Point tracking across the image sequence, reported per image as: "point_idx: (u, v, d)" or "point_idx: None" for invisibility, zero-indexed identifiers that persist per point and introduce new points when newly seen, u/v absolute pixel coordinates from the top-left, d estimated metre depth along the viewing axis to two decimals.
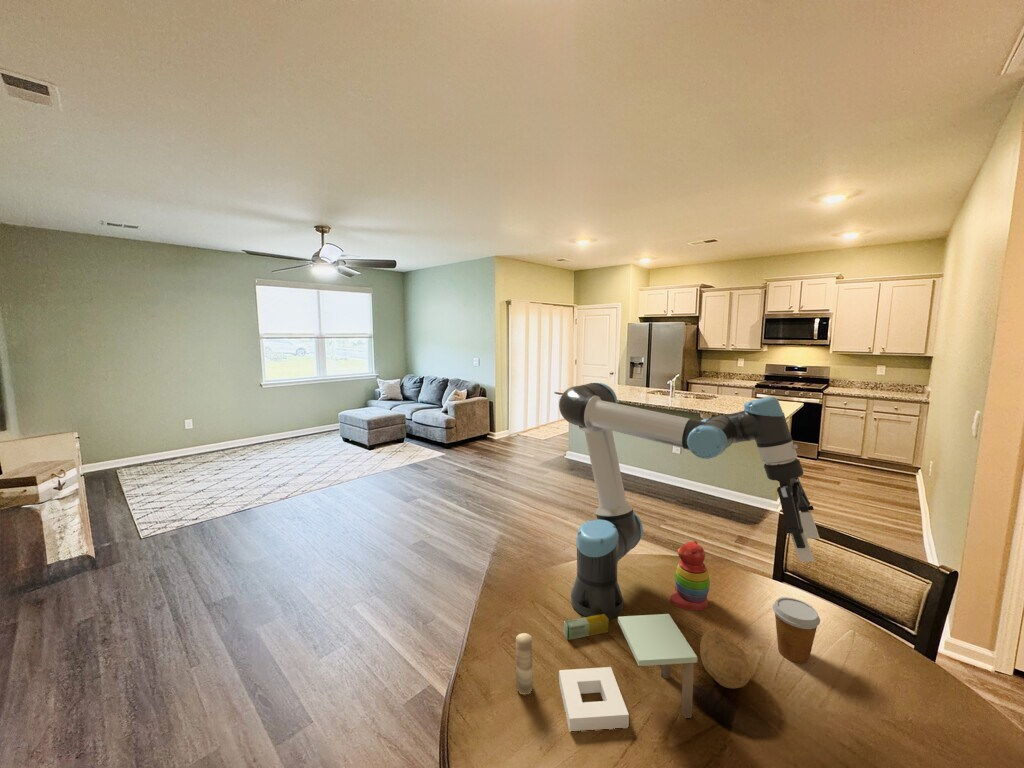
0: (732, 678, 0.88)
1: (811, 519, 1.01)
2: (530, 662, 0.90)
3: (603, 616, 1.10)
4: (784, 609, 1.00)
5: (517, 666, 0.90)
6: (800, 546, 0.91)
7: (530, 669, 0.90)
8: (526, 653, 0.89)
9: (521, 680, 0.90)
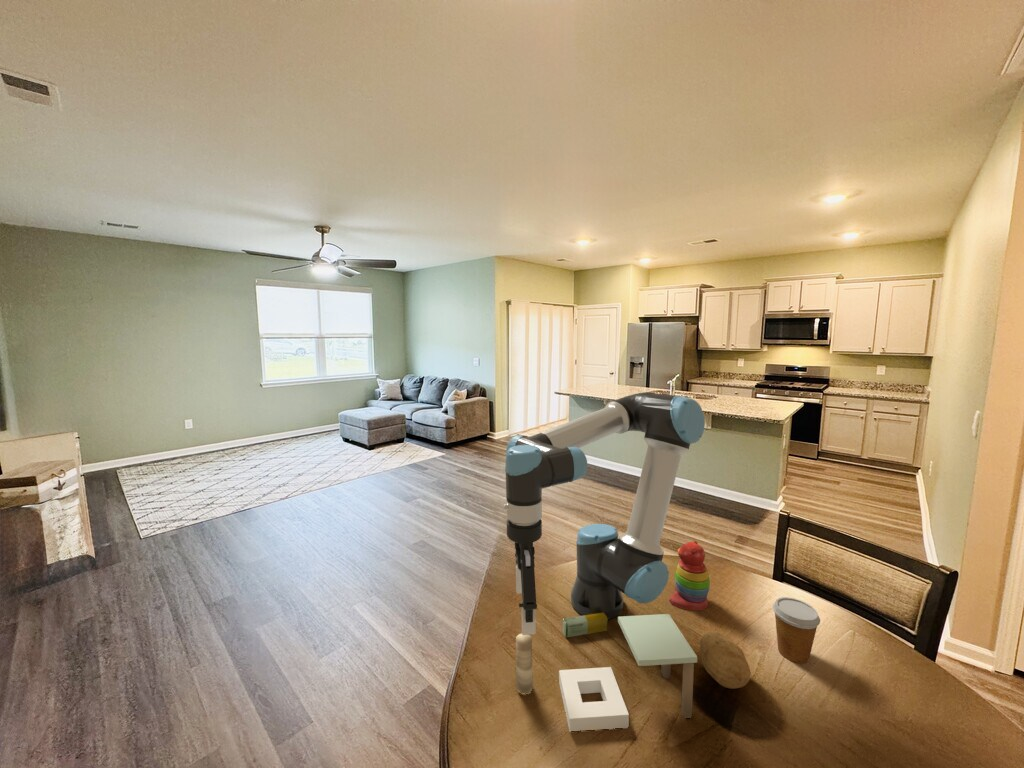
0: (732, 678, 0.88)
1: None
2: (530, 662, 0.90)
3: (602, 615, 1.11)
4: (784, 609, 1.00)
5: (517, 666, 0.90)
6: None
7: (530, 669, 0.90)
8: (526, 653, 0.89)
9: (521, 680, 0.90)
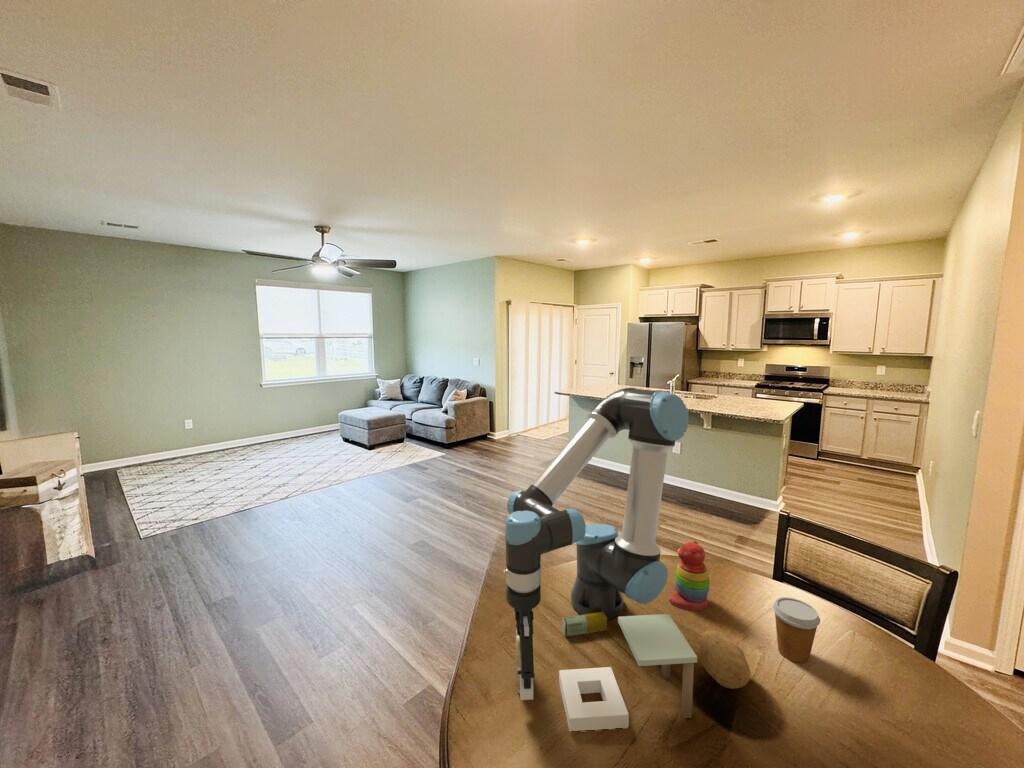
0: (732, 678, 0.88)
1: None
2: None
3: (602, 614, 1.11)
4: (784, 609, 1.00)
5: (517, 666, 0.90)
6: None
7: None
8: None
9: None
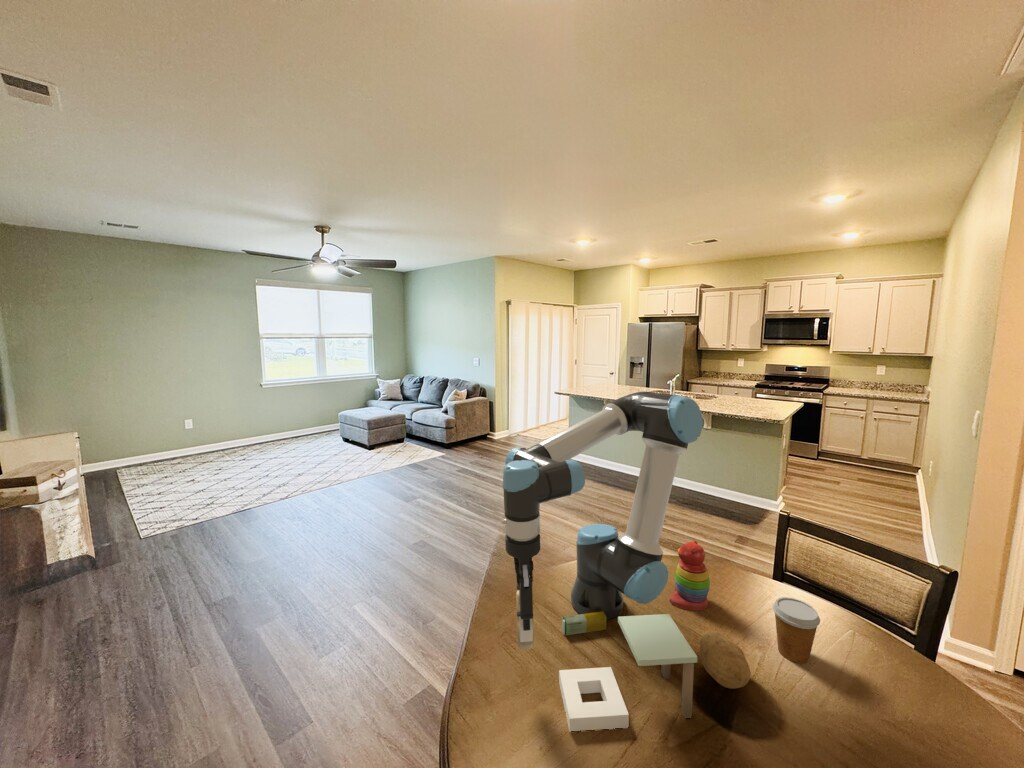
0: (732, 678, 0.88)
1: None
2: None
3: (601, 613, 1.11)
4: (784, 609, 1.00)
5: (518, 621, 0.90)
6: None
7: None
8: None
9: None
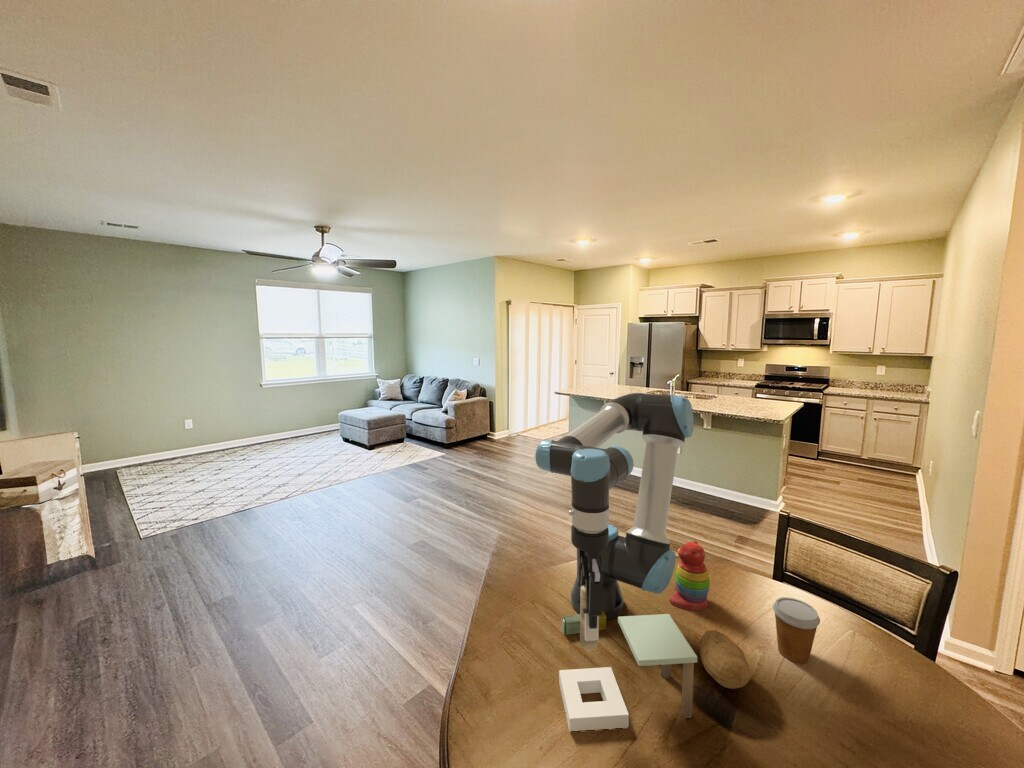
0: (732, 678, 0.88)
1: None
2: None
3: None
4: (784, 609, 1.00)
5: (582, 618, 0.85)
6: None
7: None
8: None
9: None
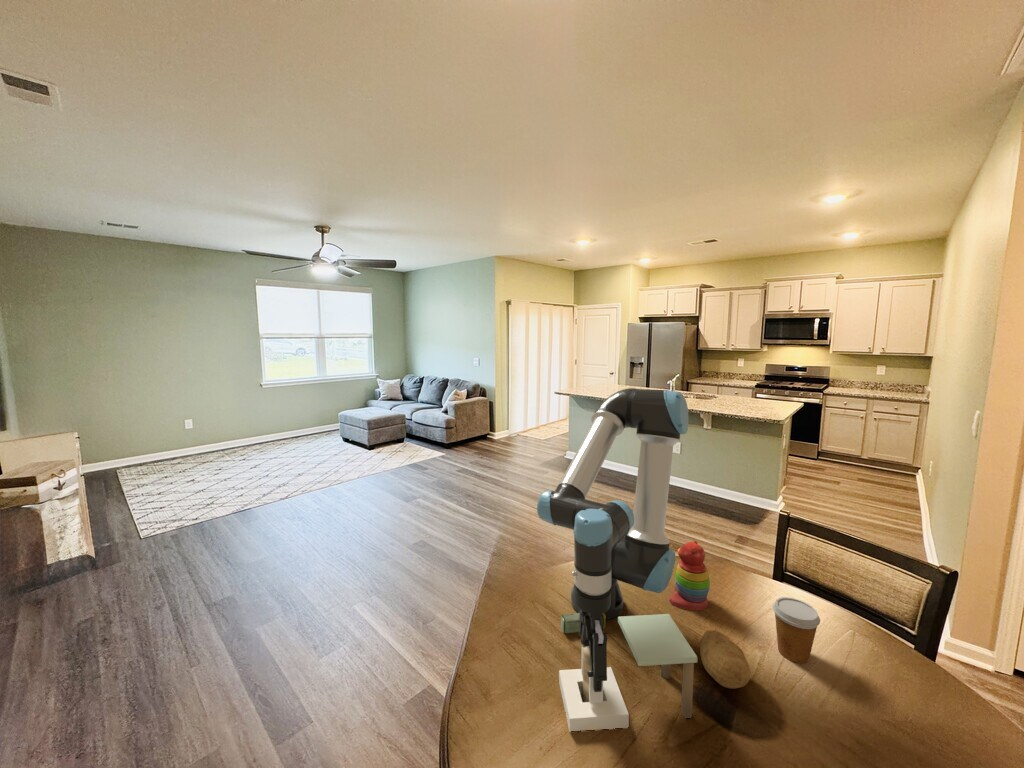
0: (732, 678, 0.88)
1: None
2: None
3: None
4: (784, 609, 1.00)
5: (585, 681, 0.86)
6: None
7: None
8: None
9: None
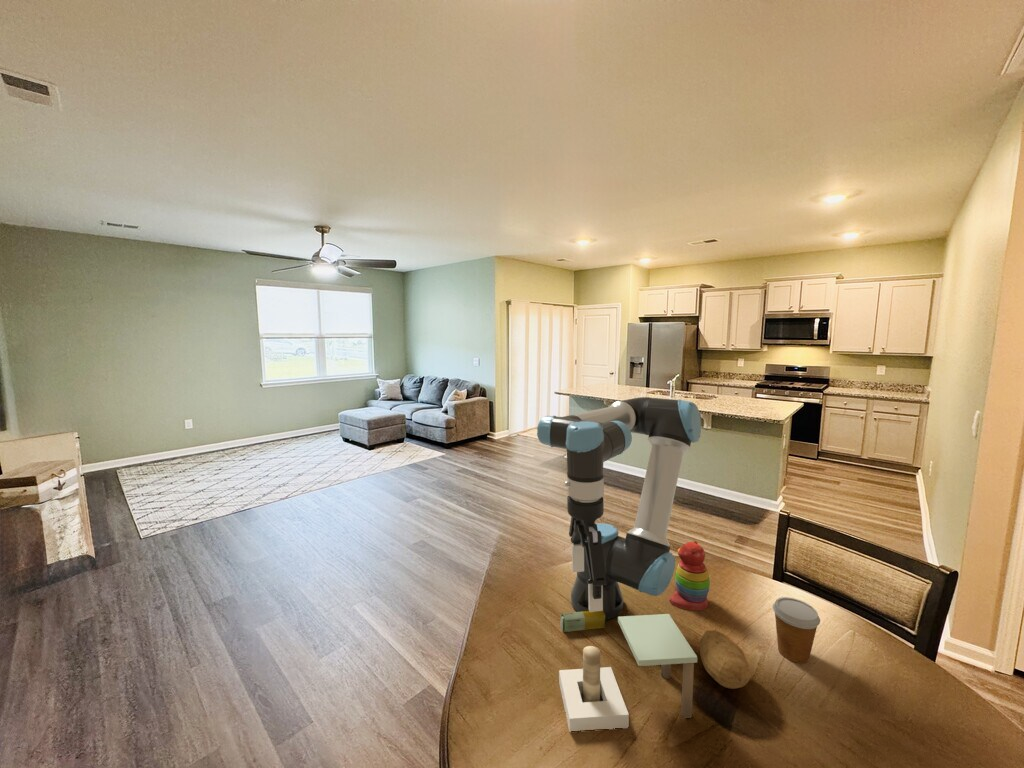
0: (732, 678, 0.88)
1: None
2: (598, 677, 0.86)
3: (600, 612, 1.12)
4: (784, 609, 1.00)
5: (585, 681, 0.86)
6: None
7: (598, 684, 0.86)
8: (595, 667, 0.85)
9: (589, 695, 0.86)
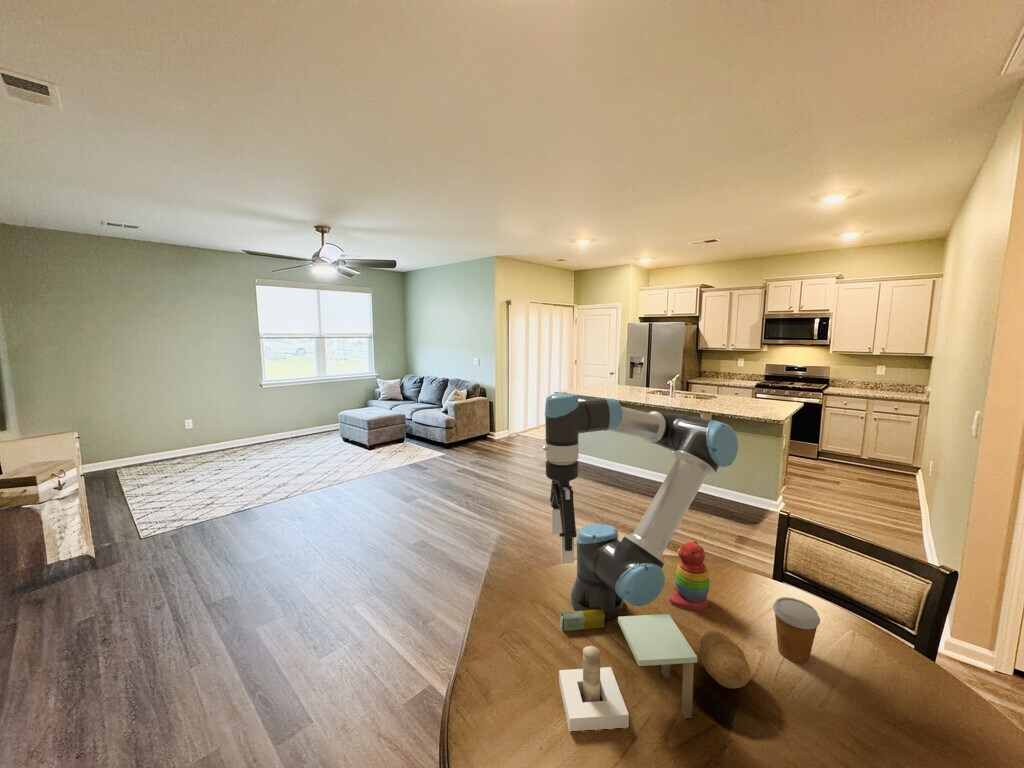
0: (732, 678, 0.88)
1: None
2: (598, 677, 0.86)
3: (600, 611, 1.12)
4: (784, 609, 1.00)
5: (585, 681, 0.86)
6: None
7: (598, 684, 0.86)
8: (595, 667, 0.85)
9: (589, 695, 0.86)
